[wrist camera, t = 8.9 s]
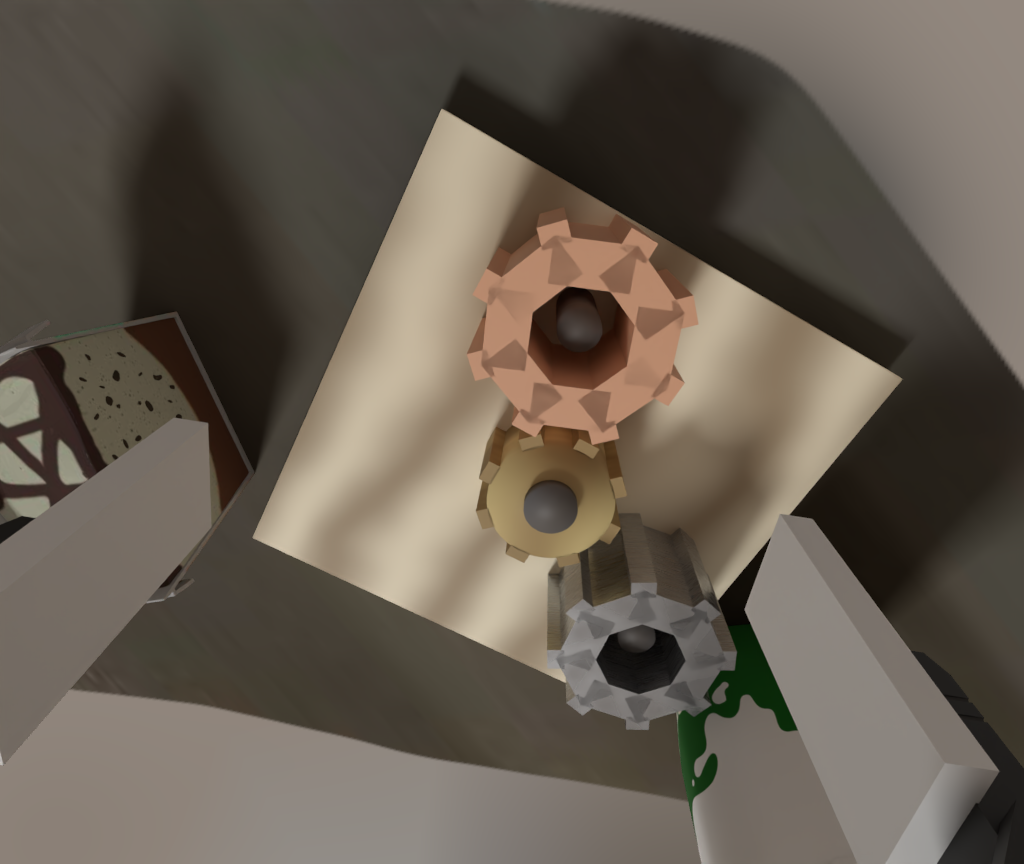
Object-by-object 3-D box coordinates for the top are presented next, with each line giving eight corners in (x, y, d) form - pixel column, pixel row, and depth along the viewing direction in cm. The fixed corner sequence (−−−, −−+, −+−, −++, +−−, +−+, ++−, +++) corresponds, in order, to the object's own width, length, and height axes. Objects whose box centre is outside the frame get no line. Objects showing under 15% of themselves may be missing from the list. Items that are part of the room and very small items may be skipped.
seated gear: (528, 615, 37) (523, 696, 31) (585, 494, 34) (592, 560, 28) (663, 661, 38) (682, 747, 32) (732, 546, 34) (767, 621, 29)
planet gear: (556, 424, 32) (557, 479, 27) (447, 288, 30) (423, 319, 24) (703, 322, 30) (737, 360, 24) (596, 167, 28) (608, 170, 22)
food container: (56, 314, 33) (-135, 376, 24) (162, 282, 32) (6, 332, 23) (169, 519, 38) (45, 637, 28) (265, 496, 37) (169, 611, 27)
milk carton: (657, 619, 38) (754, 1046, 20) (817, 604, 37) (1075, 1040, 19) (667, 729, 42) (759, 1183, 23) (814, 718, 41) (1032, 1185, 22)
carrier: (263, 523, 37) (212, 588, 32) (447, 111, 28) (421, 99, 23) (623, 691, 41) (634, 777, 35) (887, 369, 32) (959, 415, 26)
